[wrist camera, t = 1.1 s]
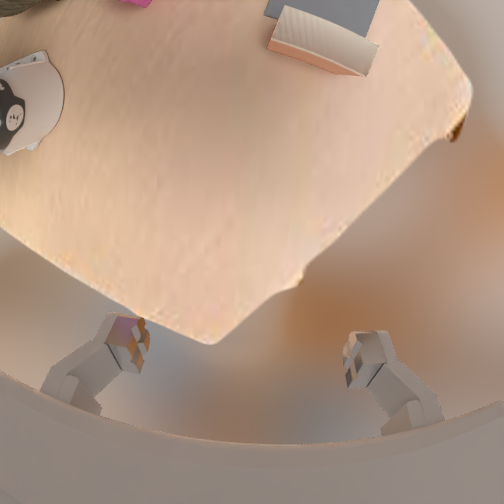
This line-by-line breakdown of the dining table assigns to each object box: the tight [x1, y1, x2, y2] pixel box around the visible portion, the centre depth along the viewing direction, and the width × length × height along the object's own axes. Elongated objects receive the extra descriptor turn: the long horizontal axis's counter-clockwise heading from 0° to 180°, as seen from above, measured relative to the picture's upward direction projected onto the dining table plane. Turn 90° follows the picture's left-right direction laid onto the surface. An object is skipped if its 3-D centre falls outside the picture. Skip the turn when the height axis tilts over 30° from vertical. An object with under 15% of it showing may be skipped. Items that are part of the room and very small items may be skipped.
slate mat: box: [264, 0, 379, 38], centre depth 24 cm, size 14×11×1 cm
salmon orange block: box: [267, 5, 379, 77], centre depth 24 cm, size 10×4×12 cm, turn 73°
